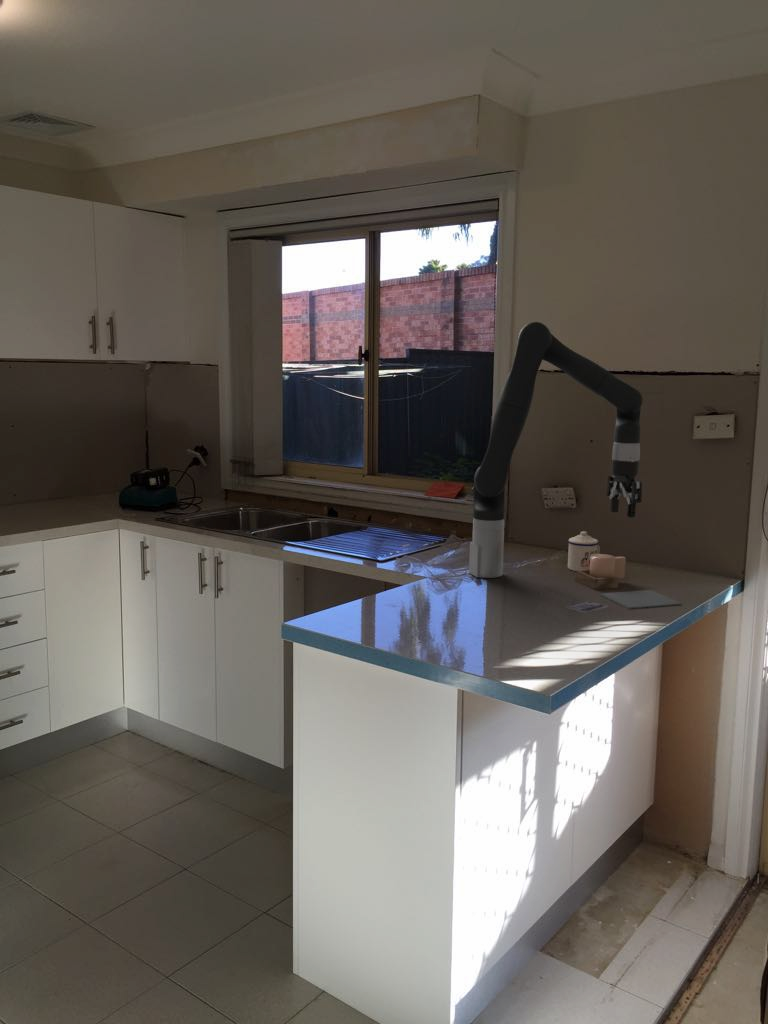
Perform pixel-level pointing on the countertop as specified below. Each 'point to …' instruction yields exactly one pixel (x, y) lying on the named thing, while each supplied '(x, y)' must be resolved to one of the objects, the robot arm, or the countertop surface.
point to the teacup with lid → (581, 551)
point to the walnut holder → (595, 580)
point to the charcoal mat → (640, 599)
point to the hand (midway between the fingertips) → (622, 514)
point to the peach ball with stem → (607, 566)
